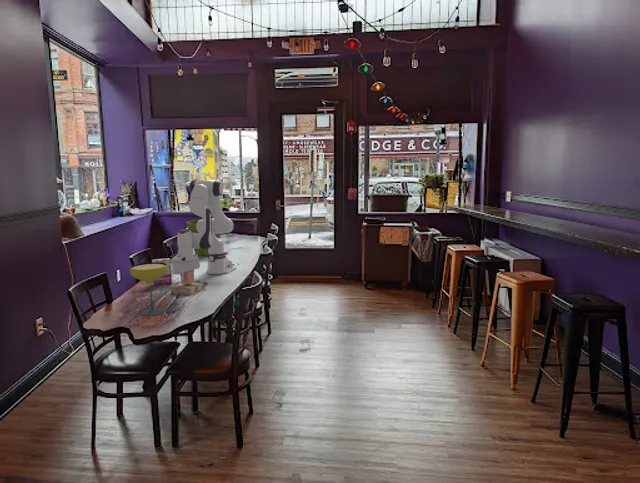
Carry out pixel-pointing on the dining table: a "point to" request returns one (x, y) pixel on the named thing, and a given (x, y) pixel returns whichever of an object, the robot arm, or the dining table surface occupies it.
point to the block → (188, 277)
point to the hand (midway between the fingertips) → (187, 278)
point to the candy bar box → (167, 277)
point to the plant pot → (194, 230)
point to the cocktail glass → (149, 279)
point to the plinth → (188, 288)
